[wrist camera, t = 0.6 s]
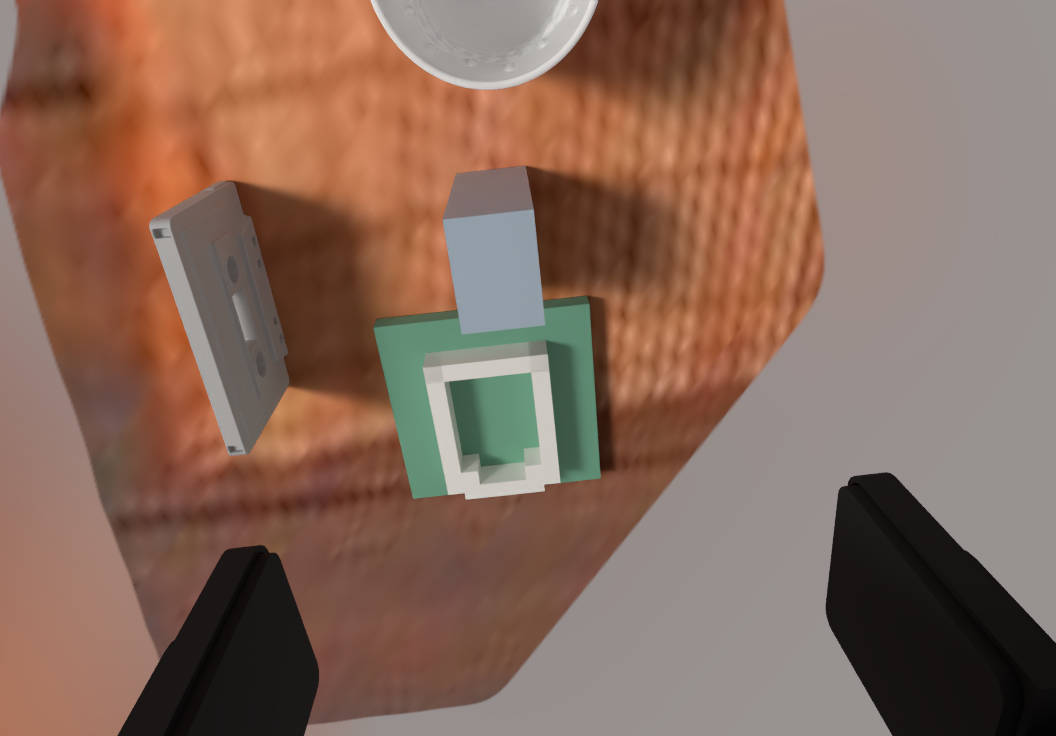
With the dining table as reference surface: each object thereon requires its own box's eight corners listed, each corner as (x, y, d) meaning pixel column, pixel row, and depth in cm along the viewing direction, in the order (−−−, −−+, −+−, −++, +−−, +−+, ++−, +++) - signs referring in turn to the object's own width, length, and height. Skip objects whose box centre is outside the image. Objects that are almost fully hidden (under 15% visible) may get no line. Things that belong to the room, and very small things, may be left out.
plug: (455, 173, 34) (442, 219, 26) (525, 165, 34) (533, 209, 26) (472, 283, 37) (465, 355, 29) (536, 275, 37) (547, 346, 29)
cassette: (207, 180, 34) (134, 220, 27) (244, 177, 34) (179, 217, 27) (268, 384, 39) (220, 461, 32) (299, 382, 39) (257, 457, 32)
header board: (376, 319, 37) (367, 341, 35) (586, 295, 37) (593, 316, 35) (415, 486, 43) (409, 517, 40) (598, 467, 43) (604, 496, 40)
